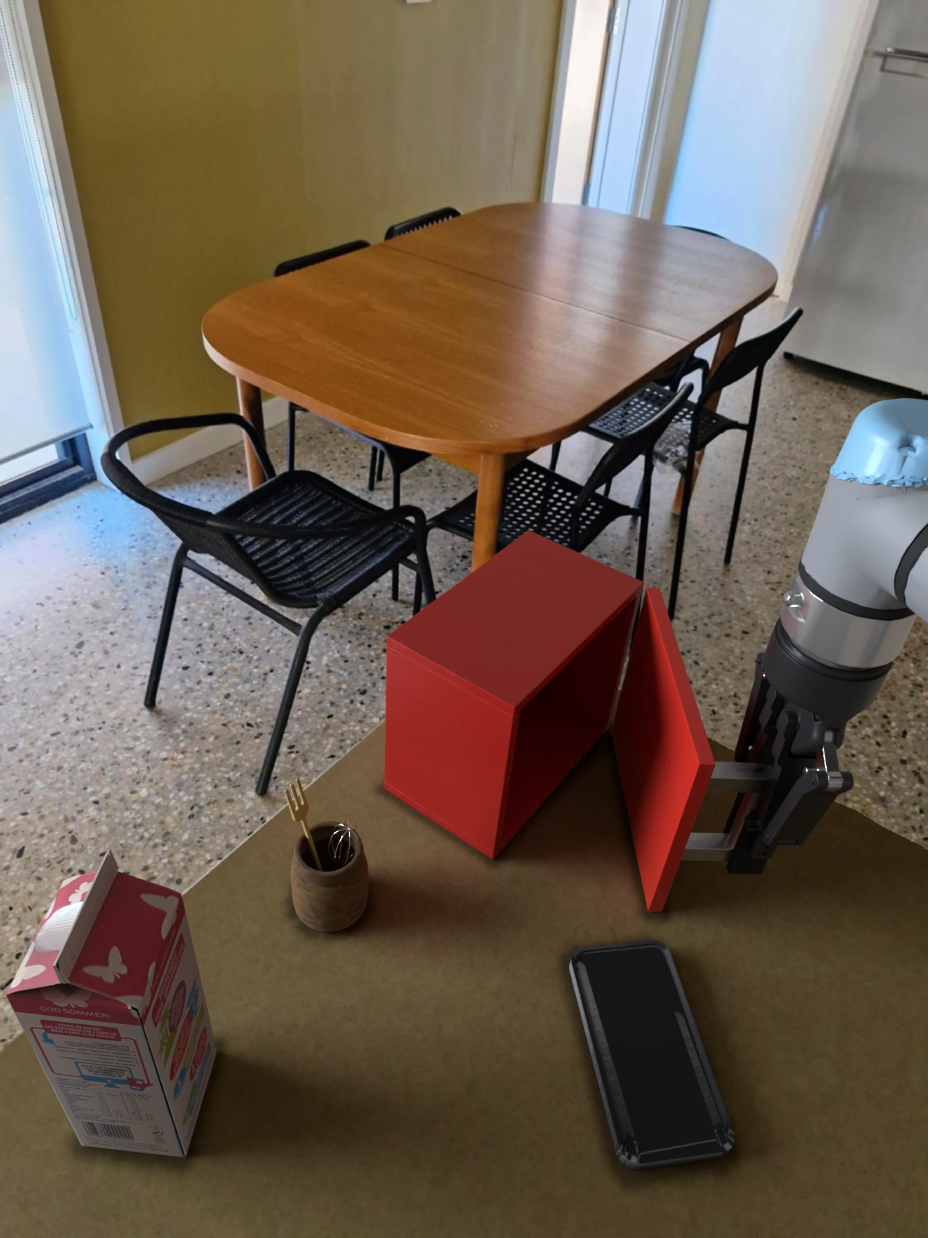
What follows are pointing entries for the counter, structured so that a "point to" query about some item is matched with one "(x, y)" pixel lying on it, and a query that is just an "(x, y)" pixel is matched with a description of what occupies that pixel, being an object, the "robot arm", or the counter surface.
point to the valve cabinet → (505, 687)
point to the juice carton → (118, 1012)
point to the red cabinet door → (671, 759)
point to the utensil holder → (327, 871)
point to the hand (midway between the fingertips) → (739, 858)
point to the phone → (648, 1057)
